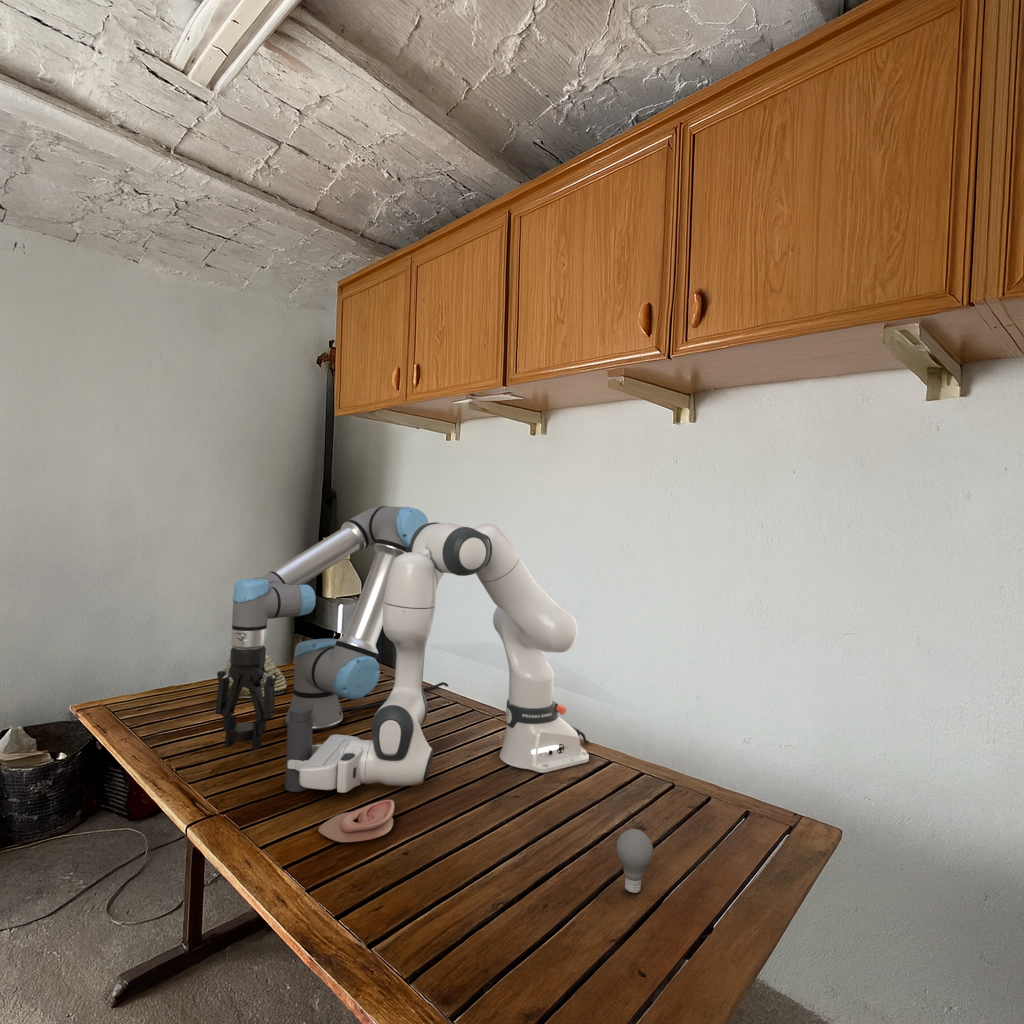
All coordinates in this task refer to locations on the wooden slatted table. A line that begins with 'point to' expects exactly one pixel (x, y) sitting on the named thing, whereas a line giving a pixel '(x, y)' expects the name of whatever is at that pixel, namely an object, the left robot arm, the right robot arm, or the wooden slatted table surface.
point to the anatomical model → (360, 823)
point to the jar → (298, 743)
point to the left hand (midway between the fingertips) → (243, 746)
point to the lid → (241, 732)
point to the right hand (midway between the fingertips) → (294, 756)
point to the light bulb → (634, 857)
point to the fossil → (271, 669)
